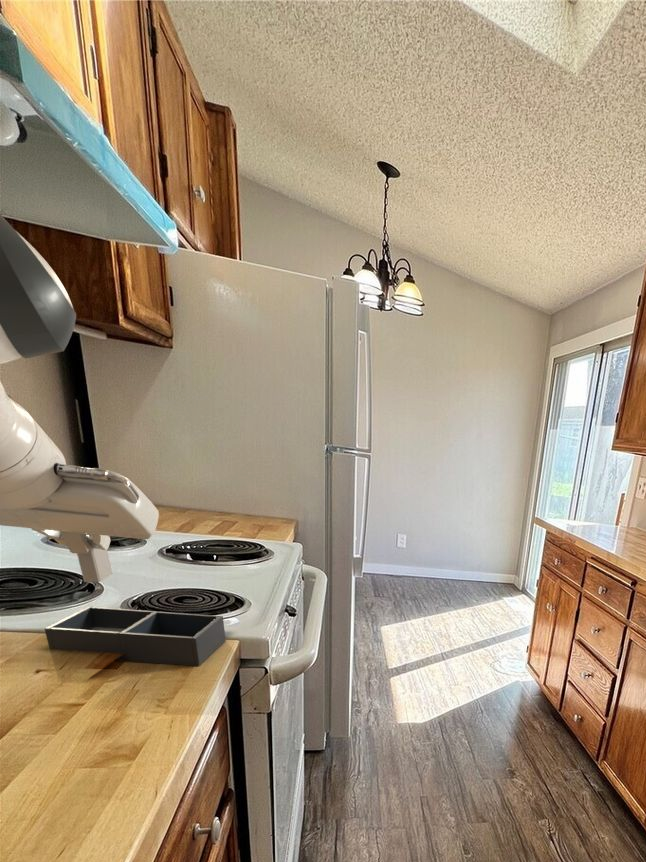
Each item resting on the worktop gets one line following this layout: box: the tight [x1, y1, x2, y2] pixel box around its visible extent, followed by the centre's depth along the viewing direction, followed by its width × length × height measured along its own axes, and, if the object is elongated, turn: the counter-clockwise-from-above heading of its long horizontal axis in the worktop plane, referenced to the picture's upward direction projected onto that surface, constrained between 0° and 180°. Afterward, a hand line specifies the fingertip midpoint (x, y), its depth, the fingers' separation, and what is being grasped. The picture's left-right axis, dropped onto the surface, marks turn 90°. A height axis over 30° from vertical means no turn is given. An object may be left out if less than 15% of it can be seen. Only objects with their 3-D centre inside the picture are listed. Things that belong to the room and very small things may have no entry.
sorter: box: [44, 606, 227, 667], centre depth 79 cm, size 19×10×4 cm, turn 95°
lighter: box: [60, 531, 113, 583], centre depth 65 cm, size 7×2×8 cm, turn 15°
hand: (87, 543), depth 66 cm, fingers closed on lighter, 2 cm apart
